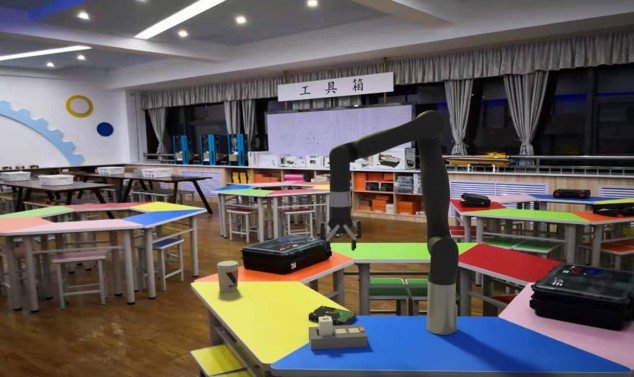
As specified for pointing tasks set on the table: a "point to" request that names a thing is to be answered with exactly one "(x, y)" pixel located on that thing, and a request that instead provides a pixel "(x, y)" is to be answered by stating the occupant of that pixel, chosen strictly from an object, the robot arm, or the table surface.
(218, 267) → the coffee cup
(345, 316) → the disk drive
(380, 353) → the table surface
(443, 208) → the robot arm
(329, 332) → the cream rectangular block
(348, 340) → the power strip
